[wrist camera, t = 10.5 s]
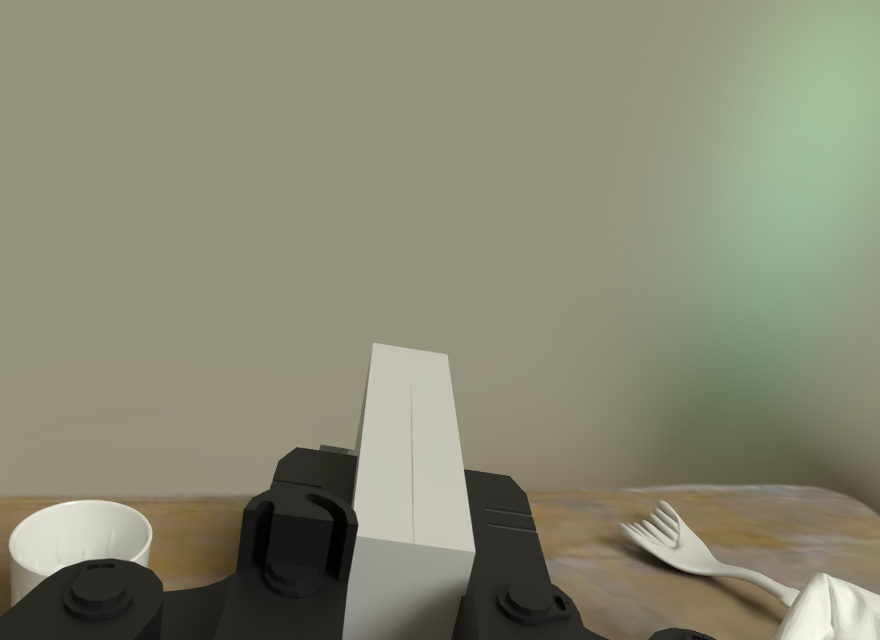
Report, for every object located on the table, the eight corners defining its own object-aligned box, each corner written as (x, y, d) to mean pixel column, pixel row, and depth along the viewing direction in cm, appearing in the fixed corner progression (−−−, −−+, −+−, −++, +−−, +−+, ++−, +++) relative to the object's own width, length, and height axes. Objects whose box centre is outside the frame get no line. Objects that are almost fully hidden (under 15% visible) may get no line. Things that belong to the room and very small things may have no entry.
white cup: (-20, 667, 48) (-20, 531, 45) (94, 608, 55) (101, 485, 52) (54, 739, 45) (60, 596, 42) (167, 666, 51) (179, 538, 48)
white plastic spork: (652, 523, 82) (661, 494, 81) (1004, 724, 62) (1022, 690, 61) (608, 550, 75) (617, 520, 74) (985, 785, 55) (1005, 748, 54)
